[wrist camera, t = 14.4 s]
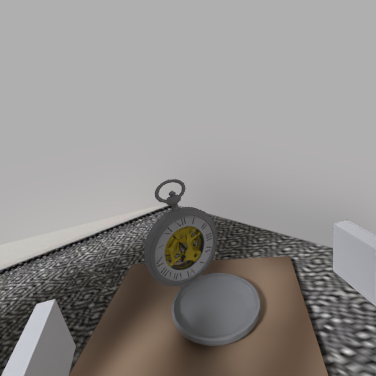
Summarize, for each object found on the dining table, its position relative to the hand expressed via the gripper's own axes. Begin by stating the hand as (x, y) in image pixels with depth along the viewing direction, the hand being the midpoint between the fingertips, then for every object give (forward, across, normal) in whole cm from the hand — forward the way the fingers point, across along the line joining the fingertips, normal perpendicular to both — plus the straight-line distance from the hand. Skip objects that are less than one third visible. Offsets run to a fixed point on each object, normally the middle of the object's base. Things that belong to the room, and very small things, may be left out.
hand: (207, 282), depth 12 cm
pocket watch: (+7, +1, -8) cm, 10 cm away
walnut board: (+7, 0, -8) cm, 11 cm away
